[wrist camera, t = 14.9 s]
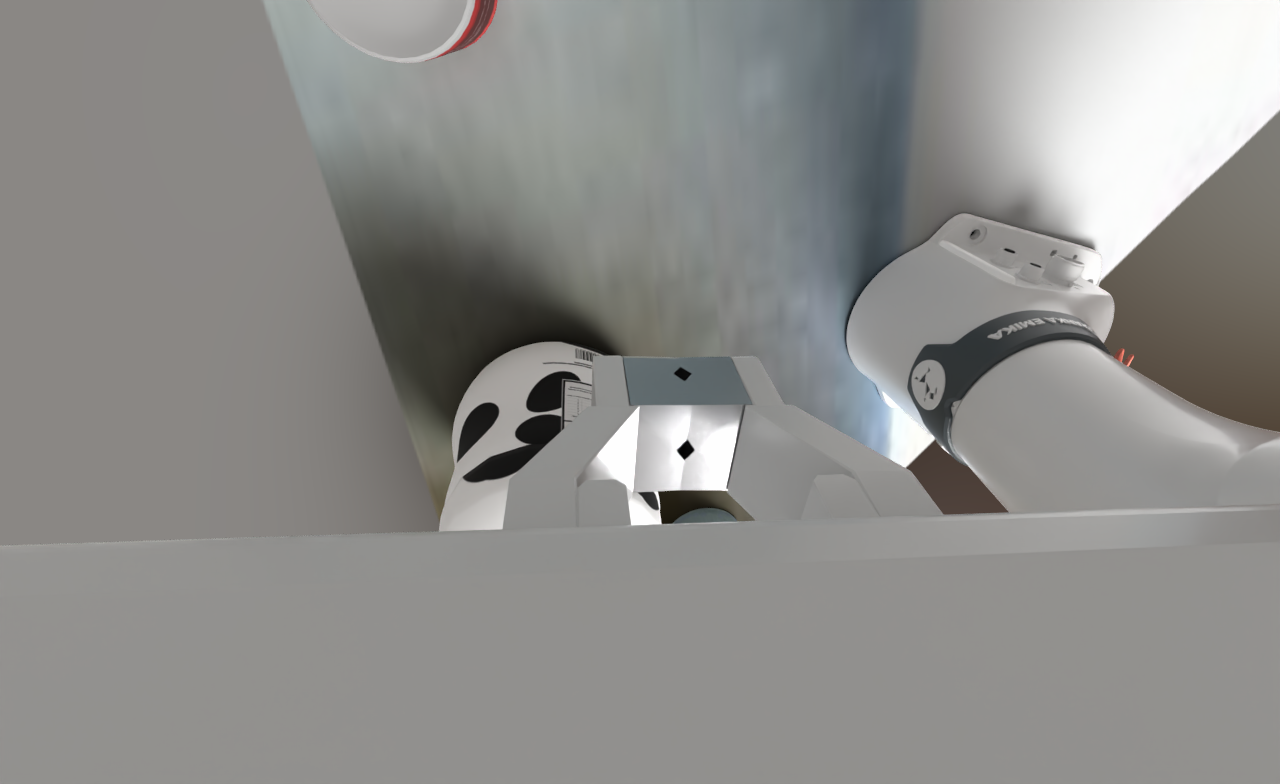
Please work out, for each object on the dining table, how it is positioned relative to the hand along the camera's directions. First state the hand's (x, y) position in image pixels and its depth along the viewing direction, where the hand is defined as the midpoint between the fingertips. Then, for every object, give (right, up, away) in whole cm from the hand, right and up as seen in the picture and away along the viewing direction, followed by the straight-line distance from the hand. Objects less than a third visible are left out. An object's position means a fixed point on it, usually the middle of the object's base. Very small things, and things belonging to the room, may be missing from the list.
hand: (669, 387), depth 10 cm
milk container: (-8, -2, +42) cm, 43 cm away
